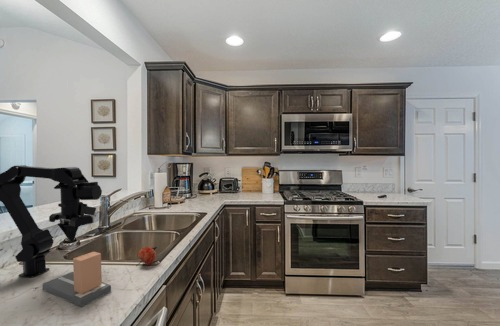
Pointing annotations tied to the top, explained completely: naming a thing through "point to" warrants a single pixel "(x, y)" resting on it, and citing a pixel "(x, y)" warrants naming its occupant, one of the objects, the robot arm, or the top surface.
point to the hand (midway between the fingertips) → (71, 241)
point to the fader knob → (87, 272)
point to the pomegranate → (147, 255)
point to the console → (65, 290)
